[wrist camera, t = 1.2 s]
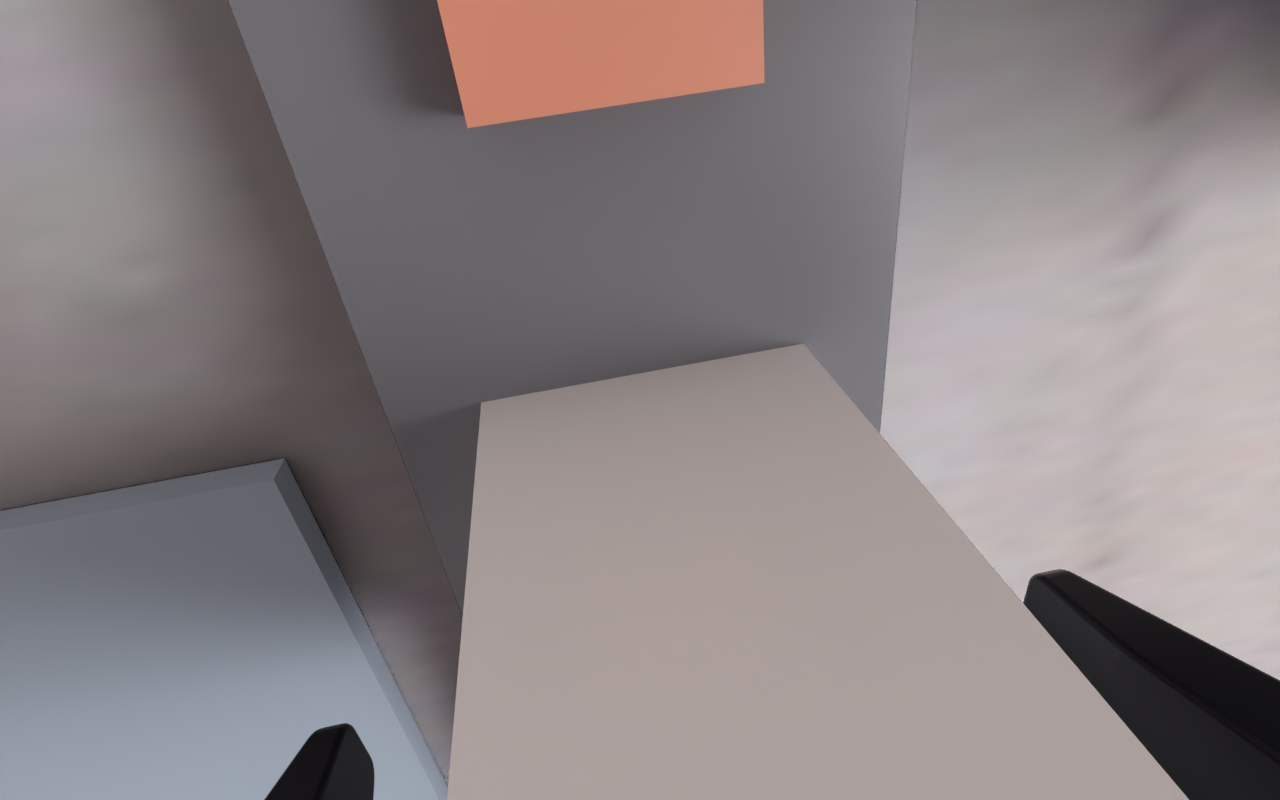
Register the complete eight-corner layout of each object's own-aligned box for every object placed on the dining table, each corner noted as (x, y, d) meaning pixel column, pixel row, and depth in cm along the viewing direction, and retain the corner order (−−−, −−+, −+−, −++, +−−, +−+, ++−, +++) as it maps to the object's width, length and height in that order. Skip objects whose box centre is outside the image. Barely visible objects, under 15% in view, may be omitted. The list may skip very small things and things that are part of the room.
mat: (456, 804, 17) (454, 829, 16) (43, 898, 16) (28, 927, 16) (284, 457, 11) (273, 480, 11) (-368, 579, 10) (-413, 608, 10)
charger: (769, 561, 14) (1190, 1491, 5) (556, 605, 14) (627, 1676, 5) (762, 295, 11) (1791, 1513, 2) (486, 344, 11) (341, 2030, 2)
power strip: (813, 811, 20) (853, 920, 18) (582, 866, 19) (591, 986, 17) (851, -312, 7) (1009, -462, 5) (206, -242, 7) (42, -372, 5)
